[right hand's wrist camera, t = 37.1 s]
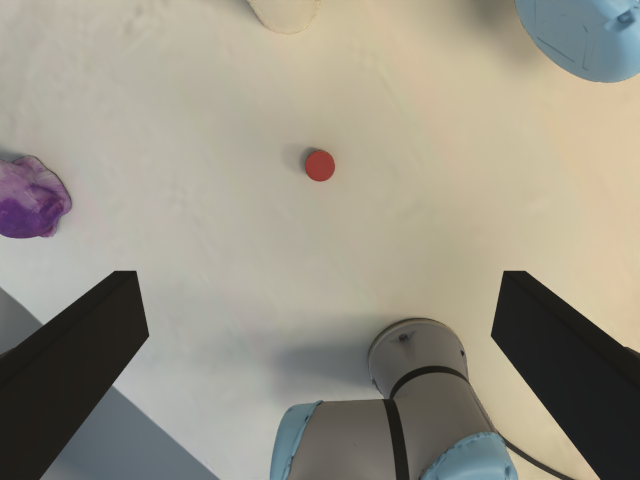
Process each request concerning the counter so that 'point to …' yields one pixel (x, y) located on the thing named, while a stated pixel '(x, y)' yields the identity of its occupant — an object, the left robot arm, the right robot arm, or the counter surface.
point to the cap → (320, 165)
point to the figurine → (30, 199)
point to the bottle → (285, 14)
